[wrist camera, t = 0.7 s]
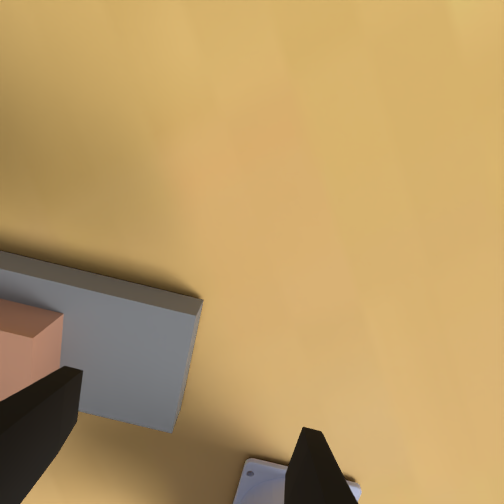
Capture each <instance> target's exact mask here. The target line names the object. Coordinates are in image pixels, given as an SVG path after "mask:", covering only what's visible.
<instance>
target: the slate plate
mask: <svg viewBox="0 0 504 504" xmlns="http://www.w3.org/2000/svg"><path fill="white" fill-rule="evenodd" d="M0 299H5V300H9V301H13V302H17V303H21V304H25V305H30V306H34V307H38V308H42V309H46V310H50V311H54V312H59V313H63V314H64V317H63V330H62V343H61V356H60V368H61V367H63V366H68V367H72V368H76V369H80V370H83V377H82V385H81V393H80V401H79V409H78V411H80V412H84V413H88V414H92V415H97V416H101V417H105V418H109V419H113V420H118V421H122V422H126V423H130V424H134V425H138V426H143V427H147V428H151V429H155V430H159V431H164V432H168V433H172V432H173V429H174V426H175V423H176V420H177V418H178V415H179V412H180V409H181V404H182V400H183V395H184V390H185V386H186V381H187V376H188V371H189V367H190V362H191V357H192V352H193V348H194V343H195V338H196V333H197V329H198V324H199V319H200V314H201V310H202V305H203V300H202V299H198V298H194V297H190V296H186V295H181V294H177V293H173V292H169V291H165V290H161V289H157V288H153V287H148V286H144V285H140V284H136V283H132V282H128V281H124V280H120V279H115V278H111V277H107V276H103V275H99V274H95V273H91V272H87V271H82V270H78V269H74V268H70V267H66V266H62V265H58V264H53V263H49V262H45V261H41V260H37V259H33V258H29V257H25V256H20V255H16V254H12V253H8V252H4V251H0Z"/></svg>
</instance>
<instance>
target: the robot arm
mask: <svg viewBox="0 0 504 504" xmlns="http://www.w3.org/2000/svg"><path fill="white" fill-rule="evenodd" d="M82 377H83V370H80V369H76V368H72V367H68V366H63V367H61V368H59V369H58V370H56V371H54V372H52V373H50V374H49V375H47V376H45V377H43V378H41V379H40V380H38V381H36V382H34V383H33V384H31V385H29V386H27V387H26V388H24V389H22V390H20V391H18V392H17V393H15V394H13V395H11V396H9V397H7V398H6V399H4V400H2V401H0V504H20V503H21V502H22V501H23V499H24V498H25V497H26V495H27V494H28V493H29V492H30V490H31V489H32V488H33V486H34V485H35V484H36V482H37V481H38V480H39V478H40V477H41V475H42V474H43V473H44V471H45V470H46V469H47V467H48V466H49V465H50V463H51V462H52V461H53V459H54V458H55V457H56V455H57V454H58V452H59V451H60V449H61V447H62V446H63V444H64V442H65V441H66V439H67V437H68V436H69V434H70V432H71V431H72V429H73V427H74V425H75V424H76V422H77V417H78V409H79V401H80V393H81V385H82ZM250 471H252V472H250ZM360 495H361V488H360V485H359V484H358V483H355V482H352V481H347V480H345V478H344V476H343V474H342V472H341V470H340V468H339V466H338V464H337V462H336V460H335V458H334V456H333V454H332V452H331V450H330V448H329V445H328V443H327V441H326V439H325V437H324V435H323V433H322V432H321V431H317V430H314V429H310V428H306V427H303V428H302V431H301V433H300V436H299V439H298V441H297V444H296V447H295V449H294V452H293V455H292V458H291V460H290V463H289V466H284V465H280V464H276V463H272V462H268V461H263V460H259V459H255V458H249V459H247V460H246V461H245V464H244V467H243V471H242V474H241V478H240V481H239V484H238V488H237V491H236V494H235V498H234V501H233V504H358V500H359V497H360Z"/></svg>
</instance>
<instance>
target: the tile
mask: <svg viewBox="0 0 504 504" xmlns="http://www.w3.org/2000/svg"><path fill="white" fill-rule="evenodd" d="M63 317H64V314H63V313H59V312H54V311H50V310H46V309H42V308H38V307H34V306H30V305H25V304H21V303H17V302H13V301H9V300H5V299H0V401H2V400H4V399H6V398H7V397H9V396H11V395H13V394H15V393H17V392H18V391H20V390H22V389H24V388H26V387H27V386H29V385H31V384H33V383H34V382H36V381H38V380H40V379H41V378H43V377H45V376H47V375H49V374H50V373H52V372H54V371H56V370H58V369H59V368H60V356H61V343H62V330H63Z"/></svg>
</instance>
